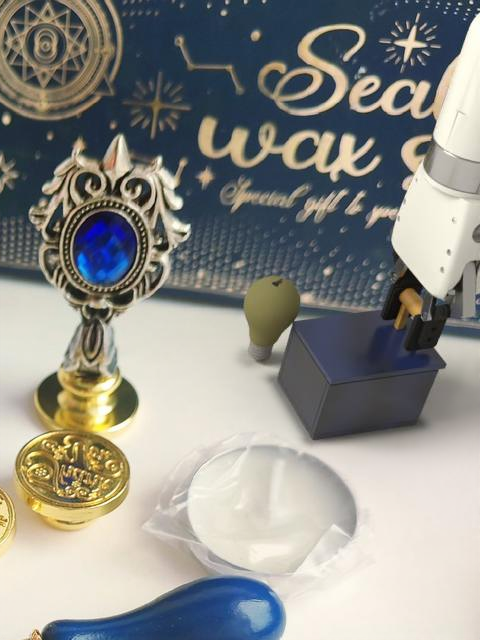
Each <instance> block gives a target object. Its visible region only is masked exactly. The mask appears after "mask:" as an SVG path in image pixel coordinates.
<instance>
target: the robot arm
mask: <svg viewBox="0 0 480 640" xmlns="http://www.w3.org/2000/svg"><path fill="white" fill-rule="evenodd" d="M389 235H390V241H391V245H392V248H393V250H392V260H393V268H392V269H391V271H390V274H389V279H390V282H391V285H390V287H389V290H388V292H387V295H386V298H385V301H384V304H383V307H382V308H381V309H382V312H381V317H382V319H383V320H386V321H387V320H395V319H397V316H398V313H399V310H400V308H401V305H402V302H401V301H400V300H399V296H400V294H401V293H402V292H403V291H404V290H406V289H408V288H413V289H414V290H415V291H416V292H417V293H418V295H419V296H420V297H421V294H422V292H423V290H424V288H425V293H424V297H423V305H422V309H421V314H417V315H415V316H414V318H413V317H412V315H411V314H410V313H409V314H408V317H407V318H409V317H411V318H412V320H413V321H412V324H411V326H410V329H409V332H408V334H407V337H406V340H405V342H404V348H405V350H406V351H414V350H422V349H429V348H435V347H437V345H438V343H439V341H440V338H441V336H442V333H443V331H444V328H445V326H446V323H447V321H448V320H449V319H455V320H461V319H470V318H474V317H475V315H476V301H477V300H476V296H477V295H480V12H479V13H478V14H477V15H476V16H475V17H474V18H473V19H472V22H471V23H470V25H469V28H468V31H467V33H466V36H465V39H464V41H463V44H462V47H461V51H460V53H459V56H458V59H457V62H456V65H455V68H454V71H453V74H452V77H451V80H450V82H449V87H448V89H447V92H446V95H445V98H444V100H443V103H442V106H441V108H440V112H439V114H438V118H437V120H436V123H435V127H434V130H433V132H432V134H431V138H430V140H429V143H428V146H427V149H426V153H425V155H424V157H423V158H422V161H421V162H420V164H419V166H418V168H417V169H416V172H415V174H414V175H413V177H412V180H411V182H410V184H409V186H408V188H407V191H406V192H405V195H404V198H403V200H402V203H401V205H400V208H399V211H398V213H397V216H396V219H395V222H394V224H393V226H391V228H390V229H389ZM443 299H444V301H443V304H439V305H437V300H443Z"/></svg>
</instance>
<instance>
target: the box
mask: <svg viewBox="0 0 480 640" xmlns="http://www.w3.org/2000/svg"><path fill="white" fill-rule="evenodd" d="M286 341H287V342H286V344H285V346H286V347H285V348H284V353H283V356H282V360H281V363H280V366H279V370H278V373H277V377H276V382H277V383H278V385H279V386H280V389H281V390H282V391H283V393H284V395H285V396H286V398H287V400H288V401H289V403H290V405H291V407H292V408H293V409H294V411H295V413H296V415H297V416H298V418H299V419H300V421H301V423H302V425H303V427H304V428H305V430H306V431H307V433H308V435H309V436H310V438H311V440H318V439H326V438H327V439H328V438H333V437H339V436H346V435H354V434H359V433H364V432H365V433H366V432H367V433H368V432H374V431H380V430H387V429H393V428H400V427H406V426H413V425H417V423H418V422H419V419H420V418H421V417H420V416H421V414H422V412H423V410H424V407H425V405H426V402H427V400H428V397H429V395H430V393H431V391H432V388H433V386H434V383H435V381H436V378H437V376H438V374H439V371H440V369H439V370H432V371H425V372H418V373H411V374H404V375H397V376H390V377H383V378H376V379H369V380H362V381H355V382H347V383H340V384H333V385H330V383H329V382H328V380H327V379H326V377H325V376H324V374H323V373H322V371H321V370H320V368H319V367H318V365H317V364H316V362H315V360H314V359H313V357H312V356H311V354H310V353H309V351H308V350H307V348H306V347H305V345H304V344H303V342H302V340H301V339H300V337H299V336H298V334H297V333H296V331H295V330H294V328H293V327H292V326H291V327H290V330H289V335H288V338H287V340H286Z"/></svg>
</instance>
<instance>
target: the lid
mask: <svg viewBox="0 0 480 640" xmlns="http://www.w3.org/2000/svg"><path fill="white" fill-rule="evenodd" d="M399 300H400V301H401V302H402V305H401V308H400V310H399V313H398V316H397V319H395V320H387V321H386V320H383V319H382V317H381V312H382V309H383V308H381V309H374V310H367V311H359V312H351V313H344V314H343V313H342V314H337V315H336V314H335V315H329V316H322V317H315V318H307V319H299V320H294V321H293V323H292V324H291V327H293V328H294V330H295V331H296V333H297V334H298V336H299V337H300V339H301V340H302V342H303V344H304V345H305V347H306V348H307V350H308V351H309V353H310V354H311V356H312V357H313V359H314V360H315V362H316V364H317V365H318V367H319V368H320V370H321V371H322V373H323V374H324V376H325V377H326V379H327V380H328V382H329V383H330V385H333V384H340V383H347V382H355V381H362V380H369V379H376V378H383V377H390V376H397V375H404V374H411V373H418V372H425V371H432V370H439V371H440V370H445V369H446V367H447V365H448V364H447V362H446V361H445V359H444V358H443V357H442V356H441V354H440V353H439V352H438V351H437V349H436V348H435V347H434V348H429V349H422V350H414V351H406V350H405V348H404V342H405V340H406V337H407V334H408V332H409V329H410V326H411V324H412V321H413V318H414V316H415V315H417V314H421V309H422V305H423V301H424V299H422V297H421V295H420V296H419V295H418V293H417V292H416V291H415V290H414V289H413V288H408V289H406V290H404V291H403V292H402V293H401V294H400V296H399ZM409 313H410V314H411V315H412V316H411V317H409V318H407V317H408V314H409Z"/></svg>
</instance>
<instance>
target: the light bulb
mask: <svg viewBox="0 0 480 640" xmlns="http://www.w3.org/2000/svg"><path fill="white" fill-rule="evenodd" d="M300 309H301V296H300V292H299V290H298V288H297V287H296V286H295V284H294V283H293V282H292V281H291V280H289V279H287V278H285V277H283V276H278V275H269V276H264V277H262V278H260V279H258V280H256V281H255V282H254V283H253V284H252V285H251V286H250V287H249V288H248V290H247V292H246V294H245V296H244V299H243V313H244V317H245V320H246V322H247V326H248V333H249V334H248V336H249V344H248V349H247V354H248V356H250V358H252V359H254V360H255V361H257V362H259V361H265V360H268V359H269V358H270V357H271V355H272V352H273V351H272V350H273V348H274V345H275V344H277V342H278V341H279V339H280V338H281V335H282V334H283V333H284V332H285V331H286V330H287V329H288V328H290V326H292V323H293V321H296V320H297V317H298V316H299V313H300Z"/></svg>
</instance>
